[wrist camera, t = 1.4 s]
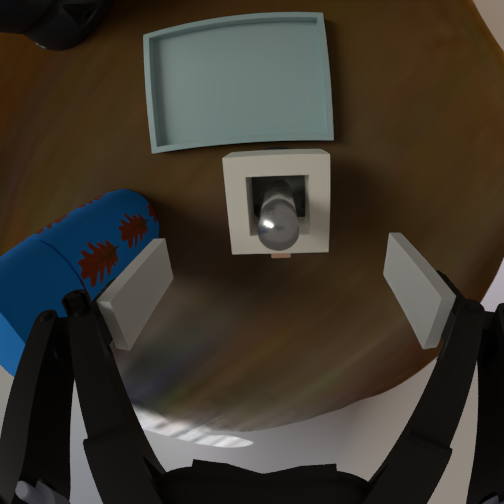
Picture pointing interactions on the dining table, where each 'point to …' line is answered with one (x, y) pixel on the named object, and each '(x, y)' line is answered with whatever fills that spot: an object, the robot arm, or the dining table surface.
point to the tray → (238, 81)
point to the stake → (278, 208)
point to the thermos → (69, 262)
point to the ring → (278, 164)
